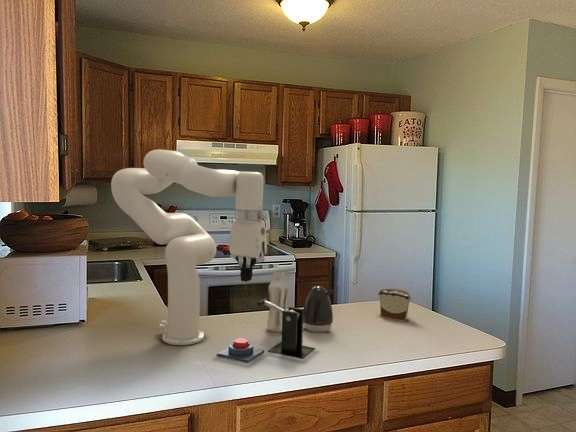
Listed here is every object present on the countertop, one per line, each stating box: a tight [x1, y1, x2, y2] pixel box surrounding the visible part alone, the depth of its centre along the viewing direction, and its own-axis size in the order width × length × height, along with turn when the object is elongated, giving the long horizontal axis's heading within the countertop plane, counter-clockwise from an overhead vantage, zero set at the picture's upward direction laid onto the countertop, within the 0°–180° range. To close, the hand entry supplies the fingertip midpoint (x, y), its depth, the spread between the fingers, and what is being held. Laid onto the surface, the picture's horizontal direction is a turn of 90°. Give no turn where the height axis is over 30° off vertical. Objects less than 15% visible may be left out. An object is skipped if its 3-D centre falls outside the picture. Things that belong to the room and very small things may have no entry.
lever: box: [257, 297, 300, 318], centre depth 139 cm, size 12×6×2 cm, turn 64°
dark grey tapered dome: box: [303, 285, 336, 333], centre depth 157 cm, size 10×10×15 cm
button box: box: [216, 341, 265, 364], centre depth 133 cm, size 10×9×4 cm
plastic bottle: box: [266, 270, 289, 333], centre depth 155 cm, size 6×7×20 cm
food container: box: [377, 288, 412, 323], centre depth 176 cm, size 12×6×10 cm, turn 58°
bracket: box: [267, 306, 316, 360], centre depth 137 cm, size 11×9×13 cm
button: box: [233, 337, 249, 348], centre depth 133 cm, size 4×4×2 cm
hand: (246, 280), depth 135 cm, fingers closed
